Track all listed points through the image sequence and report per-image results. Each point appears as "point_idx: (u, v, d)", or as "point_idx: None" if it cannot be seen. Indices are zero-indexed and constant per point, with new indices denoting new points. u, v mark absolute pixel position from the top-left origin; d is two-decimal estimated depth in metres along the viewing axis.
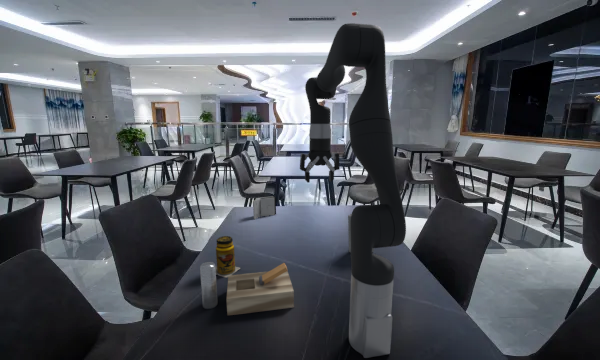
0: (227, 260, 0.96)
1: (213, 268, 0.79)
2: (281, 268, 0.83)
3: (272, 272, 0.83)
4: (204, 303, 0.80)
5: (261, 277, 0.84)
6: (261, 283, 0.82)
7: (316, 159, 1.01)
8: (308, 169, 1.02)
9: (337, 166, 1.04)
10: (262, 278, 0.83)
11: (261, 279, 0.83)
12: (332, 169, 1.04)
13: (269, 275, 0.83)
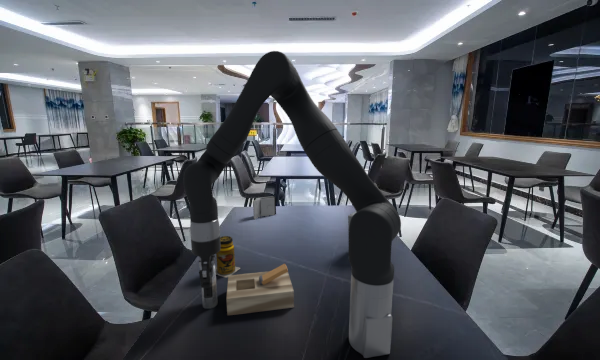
0: (227, 260, 0.96)
1: None
2: (282, 269, 0.83)
3: (273, 273, 0.83)
4: (204, 303, 0.80)
5: (261, 277, 0.84)
6: (261, 283, 0.82)
7: None
8: None
9: None
10: (262, 278, 0.83)
11: (261, 279, 0.83)
12: None
13: (269, 275, 0.83)
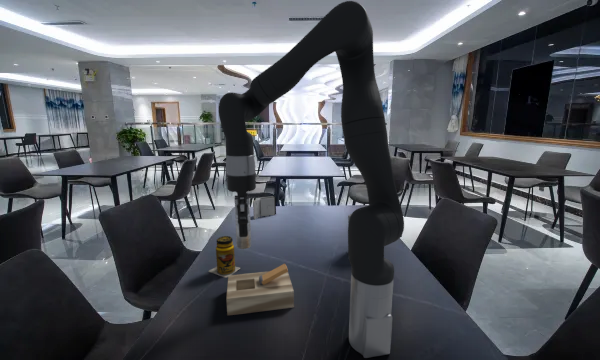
0: (227, 260, 0.96)
1: None
2: (282, 269, 0.83)
3: (273, 273, 0.83)
4: (238, 243, 0.78)
5: (261, 277, 0.84)
6: (261, 283, 0.82)
7: (249, 201, 0.77)
8: None
9: None
10: (262, 278, 0.83)
11: (261, 279, 0.83)
12: None
13: (269, 275, 0.83)
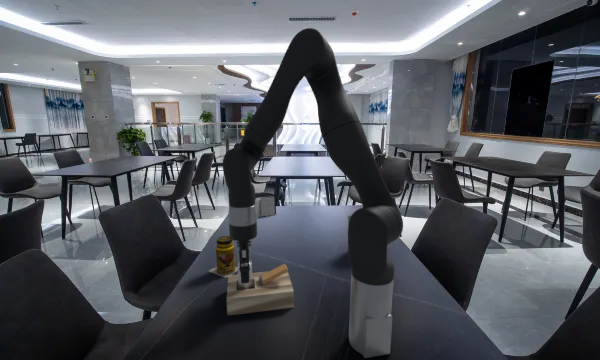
0: (227, 260, 0.96)
1: (250, 265, 0.80)
2: (282, 269, 0.83)
3: (273, 273, 0.83)
4: None
5: (261, 277, 0.84)
6: (261, 283, 0.82)
7: None
8: None
9: None
10: (262, 278, 0.83)
11: (261, 279, 0.83)
12: None
13: (269, 275, 0.83)
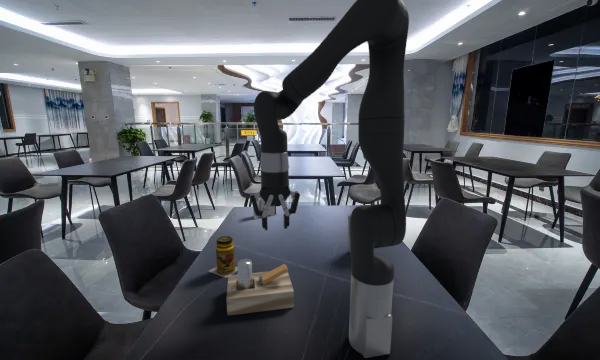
0: (227, 260, 0.96)
1: (250, 265, 0.81)
2: (282, 269, 0.83)
3: (273, 273, 0.83)
4: None
5: (261, 277, 0.84)
6: (261, 283, 0.82)
7: None
8: None
9: None
10: (262, 278, 0.83)
11: (261, 279, 0.83)
12: None
13: (269, 275, 0.83)
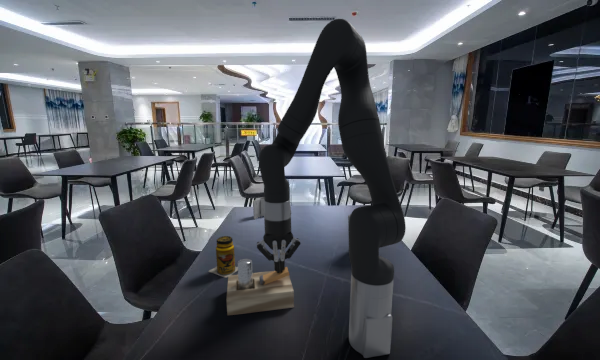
0: (227, 260, 0.96)
1: (250, 265, 0.81)
2: (284, 271, 0.83)
3: (274, 274, 0.83)
4: None
5: (262, 277, 0.84)
6: (261, 283, 0.82)
7: None
8: None
9: None
10: (263, 278, 0.83)
11: (262, 279, 0.83)
12: None
13: (271, 276, 0.83)
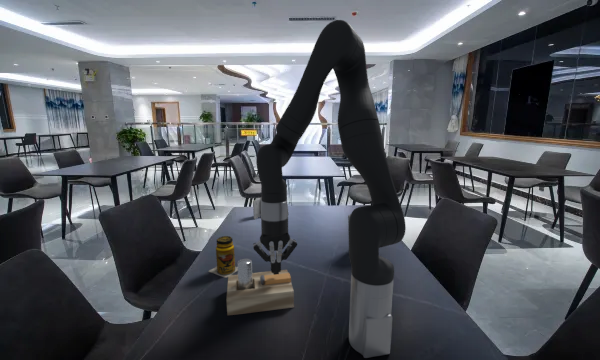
0: (227, 260, 0.96)
1: (250, 264, 0.81)
2: (286, 277, 0.84)
3: (276, 277, 0.84)
4: None
5: (263, 277, 0.84)
6: (262, 282, 0.82)
7: None
8: None
9: None
10: (264, 278, 0.83)
11: (263, 279, 0.83)
12: None
13: (272, 278, 0.83)
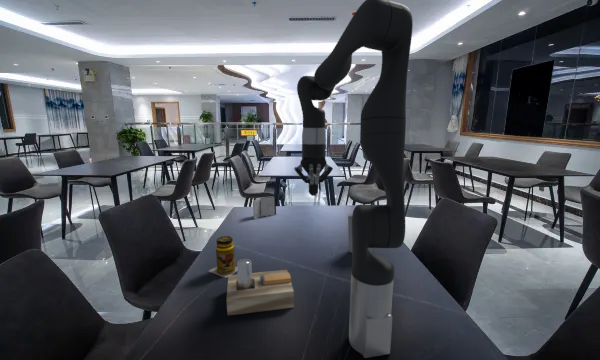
0: (227, 260, 0.96)
1: (250, 264, 0.81)
2: (286, 277, 0.84)
3: (276, 277, 0.84)
4: None
5: (263, 277, 0.84)
6: (262, 282, 0.82)
7: None
8: None
9: None
10: (264, 278, 0.83)
11: (263, 279, 0.83)
12: None
13: (272, 278, 0.83)
